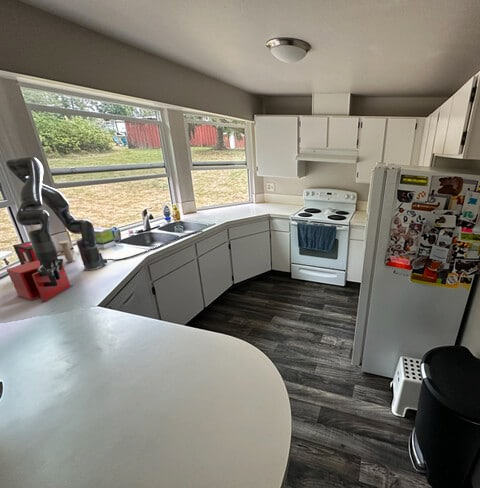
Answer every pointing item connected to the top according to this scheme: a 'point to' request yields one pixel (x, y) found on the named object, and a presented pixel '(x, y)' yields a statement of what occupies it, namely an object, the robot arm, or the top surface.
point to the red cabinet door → (50, 284)
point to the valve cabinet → (25, 279)
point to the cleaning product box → (25, 252)
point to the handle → (66, 250)
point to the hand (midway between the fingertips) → (55, 280)
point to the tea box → (104, 237)
